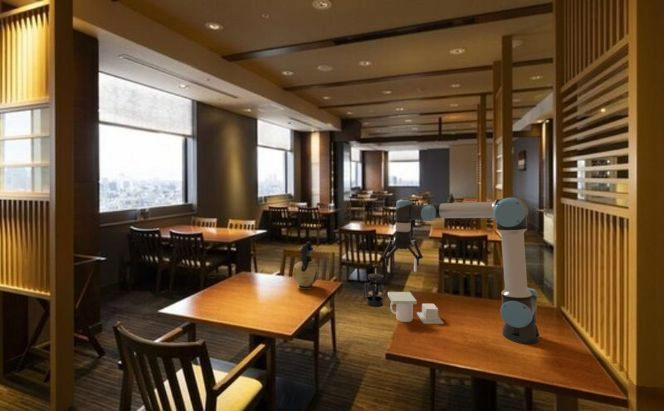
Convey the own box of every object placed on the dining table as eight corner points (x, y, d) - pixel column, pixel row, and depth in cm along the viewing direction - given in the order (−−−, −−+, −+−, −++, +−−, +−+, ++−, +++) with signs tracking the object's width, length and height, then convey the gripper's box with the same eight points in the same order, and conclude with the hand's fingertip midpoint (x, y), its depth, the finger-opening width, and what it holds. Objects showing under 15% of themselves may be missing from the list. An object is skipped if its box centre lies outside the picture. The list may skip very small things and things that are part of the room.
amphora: (318, 291, 226) (318, 245, 224) (291, 291, 226) (291, 244, 224) (319, 283, 244) (319, 240, 241) (294, 283, 244) (294, 240, 242)
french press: (385, 302, 207) (386, 263, 206) (383, 308, 198) (383, 267, 197) (365, 300, 211) (366, 262, 209) (362, 305, 202) (363, 265, 200)
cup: (409, 323, 177) (409, 303, 176) (386, 318, 184) (387, 299, 183) (414, 318, 184) (415, 299, 183) (393, 313, 191) (393, 295, 190)
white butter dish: (443, 324, 177) (444, 311, 177) (423, 324, 177) (424, 311, 177) (435, 313, 191) (435, 301, 191) (416, 313, 191) (416, 301, 190)
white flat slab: (416, 304, 176) (416, 301, 176) (392, 304, 176) (392, 301, 176) (409, 294, 190) (409, 292, 190) (387, 294, 190) (387, 292, 190)
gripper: (425, 229, 184) (424, 269, 186) (377, 229, 184) (376, 269, 186) (429, 231, 177) (428, 273, 178) (379, 231, 176) (378, 273, 178)
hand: (402, 271), depth 182 cm, fingers open, 13 cm apart
